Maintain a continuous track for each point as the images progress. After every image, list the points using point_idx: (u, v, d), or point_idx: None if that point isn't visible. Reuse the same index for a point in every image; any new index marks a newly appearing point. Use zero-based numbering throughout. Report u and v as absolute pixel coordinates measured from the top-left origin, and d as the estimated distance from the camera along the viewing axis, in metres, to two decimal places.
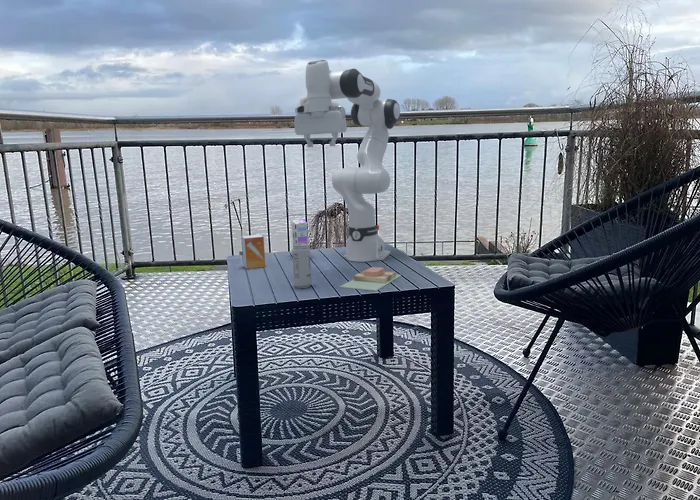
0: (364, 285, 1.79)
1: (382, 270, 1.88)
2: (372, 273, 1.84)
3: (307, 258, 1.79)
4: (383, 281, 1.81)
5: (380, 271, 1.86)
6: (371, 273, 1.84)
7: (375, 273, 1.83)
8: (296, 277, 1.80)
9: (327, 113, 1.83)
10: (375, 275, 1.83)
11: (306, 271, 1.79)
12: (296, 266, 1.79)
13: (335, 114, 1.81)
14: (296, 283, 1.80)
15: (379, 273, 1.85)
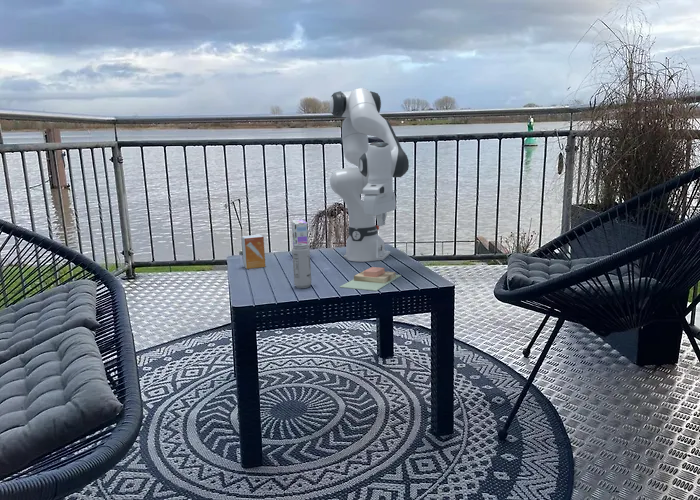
0: (364, 285, 1.79)
1: (382, 270, 1.88)
2: (372, 273, 1.84)
3: (307, 258, 1.79)
4: (383, 281, 1.81)
5: (380, 271, 1.86)
6: (371, 273, 1.84)
7: (375, 273, 1.83)
8: (296, 277, 1.80)
9: (389, 193, 1.91)
10: (375, 275, 1.83)
11: (306, 271, 1.79)
12: (296, 266, 1.79)
13: (393, 194, 1.94)
14: (296, 283, 1.80)
15: (379, 273, 1.85)
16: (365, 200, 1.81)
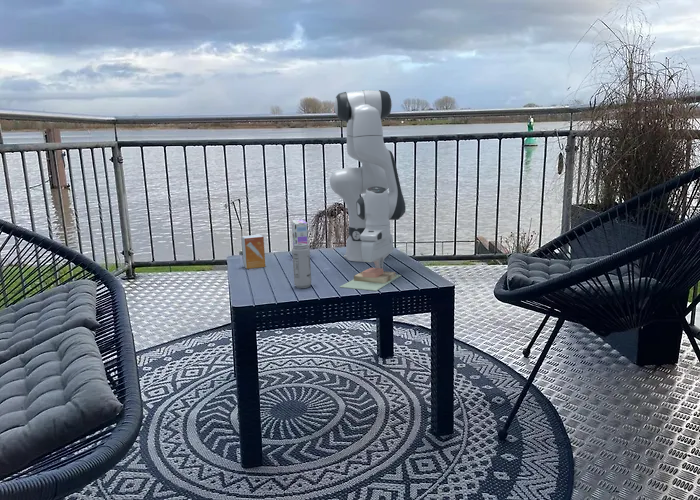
0: (364, 285, 1.79)
1: (381, 271, 1.87)
2: (371, 274, 1.83)
3: (307, 258, 1.79)
4: (383, 281, 1.81)
5: (379, 272, 1.85)
6: (370, 274, 1.83)
7: (374, 274, 1.82)
8: (296, 277, 1.80)
9: None
10: (374, 276, 1.82)
11: (306, 271, 1.79)
12: (296, 266, 1.79)
13: (391, 237, 1.94)
14: (296, 283, 1.80)
15: (378, 274, 1.85)
16: (363, 246, 1.81)
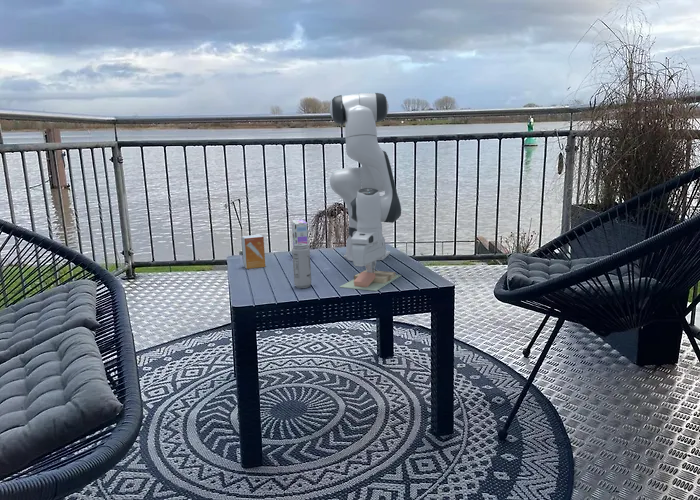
0: None
1: (373, 276, 1.81)
2: (362, 283, 1.77)
3: (307, 258, 1.79)
4: (383, 281, 1.81)
5: (371, 279, 1.79)
6: (361, 283, 1.78)
7: (365, 283, 1.77)
8: (296, 277, 1.80)
9: None
10: (366, 285, 1.77)
11: (306, 271, 1.79)
12: (296, 266, 1.79)
13: (383, 240, 1.88)
14: (296, 283, 1.80)
15: (370, 281, 1.79)
16: (354, 250, 1.75)
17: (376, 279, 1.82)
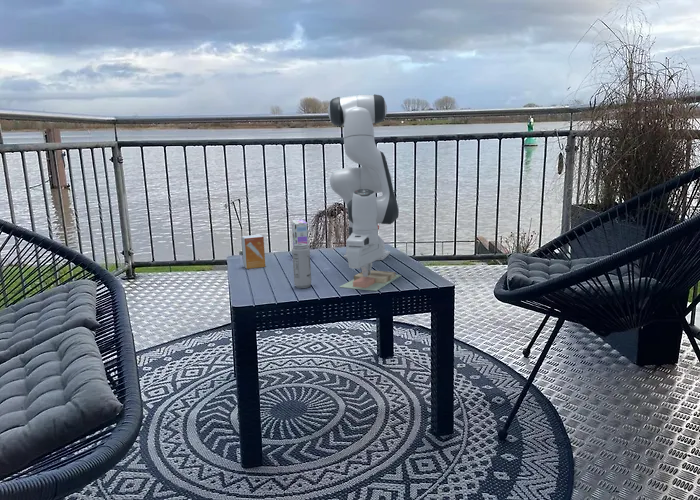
0: None
1: (372, 280, 1.81)
2: (362, 284, 1.77)
3: (307, 258, 1.79)
4: (383, 281, 1.81)
5: (370, 281, 1.79)
6: (361, 284, 1.77)
7: (365, 284, 1.76)
8: (296, 277, 1.80)
9: (375, 241, 1.83)
10: (365, 286, 1.76)
11: (306, 271, 1.79)
12: (296, 266, 1.79)
13: (379, 242, 1.86)
14: (296, 283, 1.80)
15: (369, 283, 1.78)
16: (349, 252, 1.73)
17: (376, 279, 1.82)
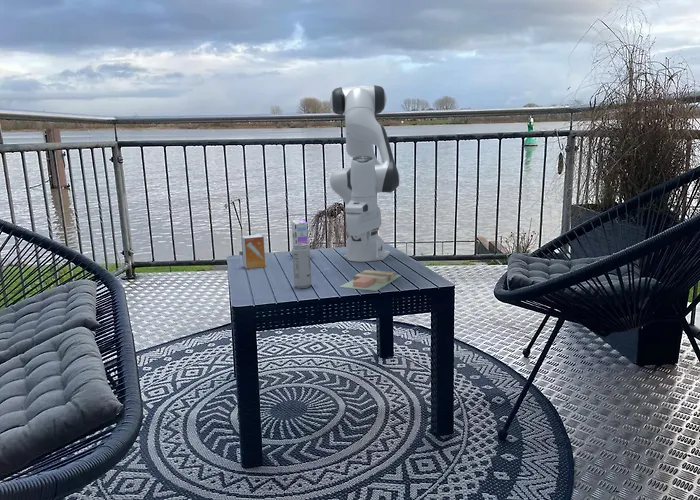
0: None
1: (372, 280, 1.81)
2: (362, 284, 1.77)
3: (307, 258, 1.79)
4: (383, 281, 1.81)
5: (370, 281, 1.79)
6: (361, 284, 1.77)
7: (365, 284, 1.76)
8: (296, 277, 1.80)
9: (374, 210, 1.81)
10: (365, 286, 1.76)
11: (306, 271, 1.79)
12: (296, 266, 1.79)
13: (378, 210, 1.84)
14: (296, 283, 1.80)
15: (369, 283, 1.78)
16: (347, 219, 1.71)
17: (376, 279, 1.82)
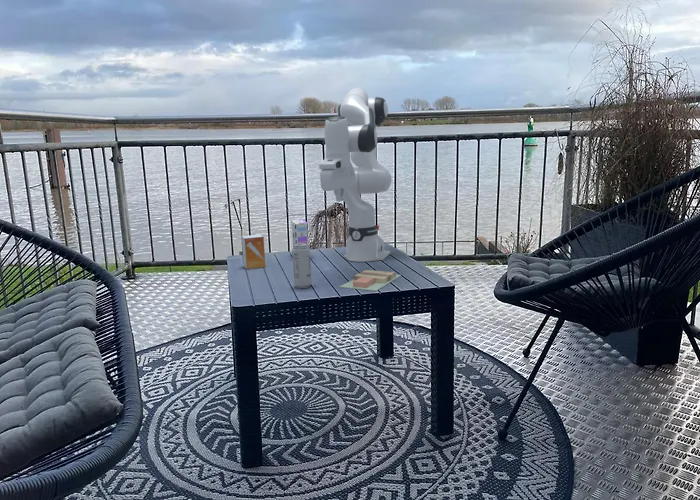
0: None
1: (372, 280, 1.81)
2: (362, 284, 1.77)
3: (307, 258, 1.79)
4: (383, 281, 1.81)
5: (370, 281, 1.79)
6: (361, 284, 1.77)
7: (365, 284, 1.76)
8: (296, 277, 1.80)
9: (348, 168, 1.91)
10: (365, 286, 1.76)
11: (306, 271, 1.79)
12: (296, 266, 1.79)
13: (352, 169, 1.94)
14: (296, 283, 1.80)
15: (369, 283, 1.78)
16: (321, 175, 1.80)
17: (376, 279, 1.82)
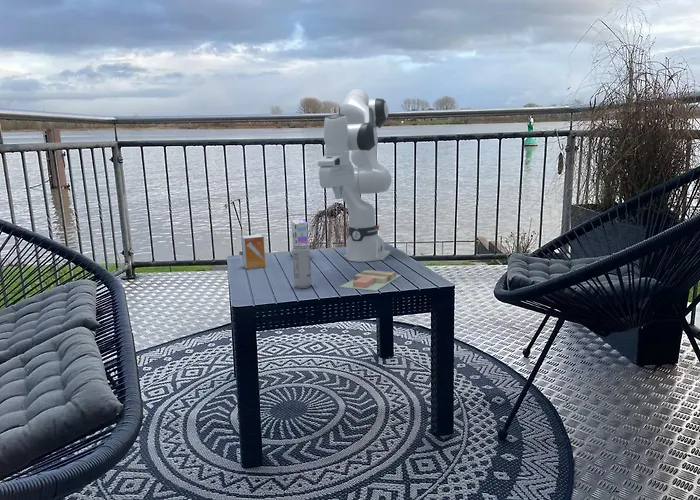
0: None
1: (372, 280, 1.81)
2: (362, 284, 1.77)
3: (307, 258, 1.79)
4: (383, 281, 1.81)
5: (370, 281, 1.79)
6: (361, 284, 1.77)
7: (365, 284, 1.76)
8: (296, 277, 1.80)
9: (347, 166, 1.91)
10: (365, 286, 1.76)
11: (306, 271, 1.79)
12: (297, 266, 1.79)
13: (351, 167, 1.94)
14: (296, 283, 1.80)
15: (369, 283, 1.78)
16: (320, 172, 1.81)
17: (376, 279, 1.82)
